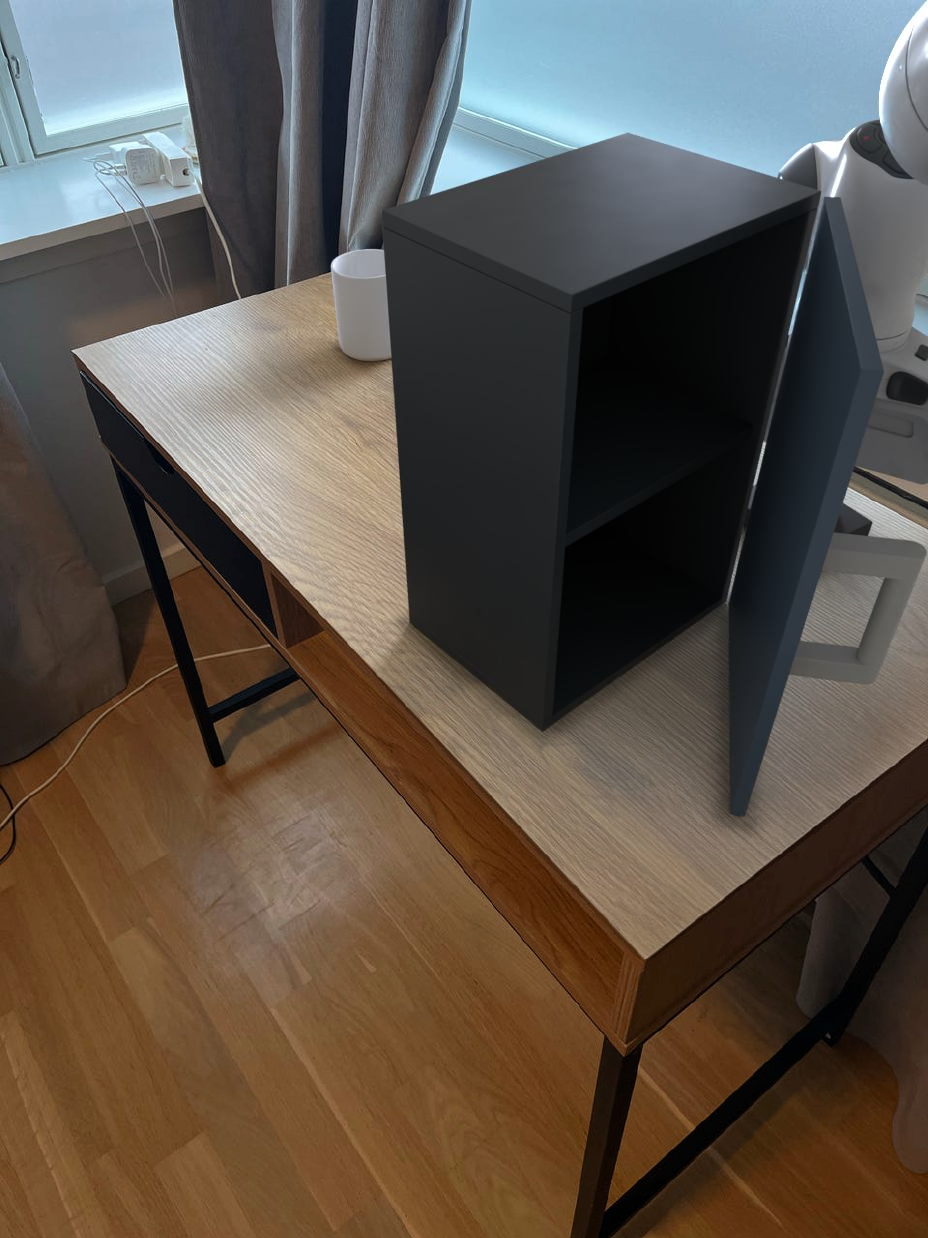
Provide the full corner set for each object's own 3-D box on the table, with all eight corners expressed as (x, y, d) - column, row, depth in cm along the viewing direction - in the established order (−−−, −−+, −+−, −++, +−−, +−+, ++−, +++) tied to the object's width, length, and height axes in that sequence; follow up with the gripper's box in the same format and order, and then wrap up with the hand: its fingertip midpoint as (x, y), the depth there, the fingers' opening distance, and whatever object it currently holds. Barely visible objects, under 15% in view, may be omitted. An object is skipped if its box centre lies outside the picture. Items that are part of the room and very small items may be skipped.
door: (810, 613, 81) (940, 202, 58) (832, 829, 65) (1022, 382, 42) (728, 603, 82) (823, 195, 59) (729, 814, 66) (861, 369, 43)
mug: (313, 331, 120) (303, 248, 113) (371, 313, 124) (365, 233, 117) (360, 369, 113) (352, 284, 106) (420, 350, 116) (416, 266, 109)
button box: (866, 540, 88) (878, 505, 86) (804, 571, 85) (815, 535, 83) (786, 487, 95) (795, 452, 92) (725, 514, 92) (733, 479, 89)
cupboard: (726, 601, 83) (822, 190, 59) (542, 732, 72) (571, 295, 49) (590, 517, 92) (627, 131, 68) (409, 622, 81) (380, 209, 58)
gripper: (706, 334, 80) (682, 473, 89) (968, 397, 72) (911, 543, 81) (733, 304, 84) (707, 441, 93) (983, 362, 76) (927, 505, 85)
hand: (804, 489), depth 87 cm, fingers closed, pressing on button
